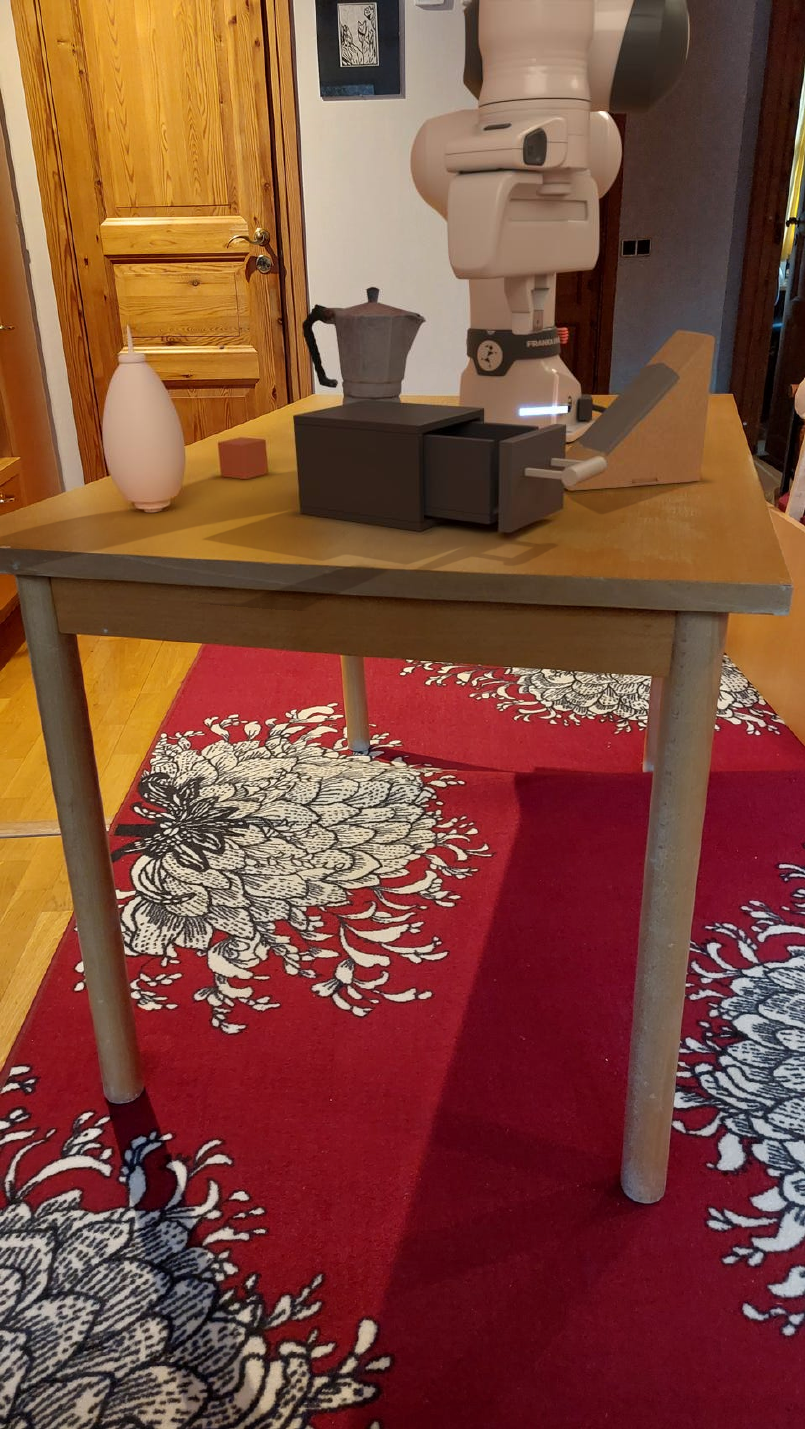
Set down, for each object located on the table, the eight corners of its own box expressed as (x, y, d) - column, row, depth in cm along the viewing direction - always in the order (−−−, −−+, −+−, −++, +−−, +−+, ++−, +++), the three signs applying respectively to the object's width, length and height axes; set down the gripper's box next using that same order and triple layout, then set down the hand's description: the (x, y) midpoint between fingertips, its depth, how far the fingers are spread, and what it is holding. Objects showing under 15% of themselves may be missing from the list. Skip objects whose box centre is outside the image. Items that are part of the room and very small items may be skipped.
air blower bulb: (100, 518, 100) (69, 328, 92) (138, 500, 106) (112, 322, 99) (169, 521, 98) (143, 327, 90) (204, 503, 104) (183, 321, 97)
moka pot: (421, 468, 118) (417, 287, 109) (298, 467, 121) (285, 290, 112) (435, 453, 126) (432, 284, 117) (319, 452, 129) (309, 287, 120)
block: (244, 470, 120) (241, 437, 118) (268, 473, 118) (265, 439, 116) (221, 476, 117) (217, 442, 115) (245, 479, 115) (242, 445, 113)
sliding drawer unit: (614, 514, 91) (619, 428, 88) (563, 540, 83) (567, 447, 80) (444, 493, 101) (443, 415, 98) (385, 515, 93) (382, 431, 90)
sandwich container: (541, 475, 112) (545, 335, 105) (666, 466, 114) (677, 329, 108) (567, 491, 104) (574, 341, 98) (701, 481, 107) (715, 334, 100)
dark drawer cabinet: (483, 506, 99) (484, 408, 95) (420, 531, 91) (417, 425, 87) (368, 491, 107) (364, 400, 103) (300, 513, 99) (292, 415, 95)
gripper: (556, 157, 88) (550, 323, 94) (431, 145, 73) (434, 343, 79) (622, 152, 85) (612, 324, 91) (506, 138, 70) (503, 345, 76)
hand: (528, 333), depth 85 cm, fingers closed
